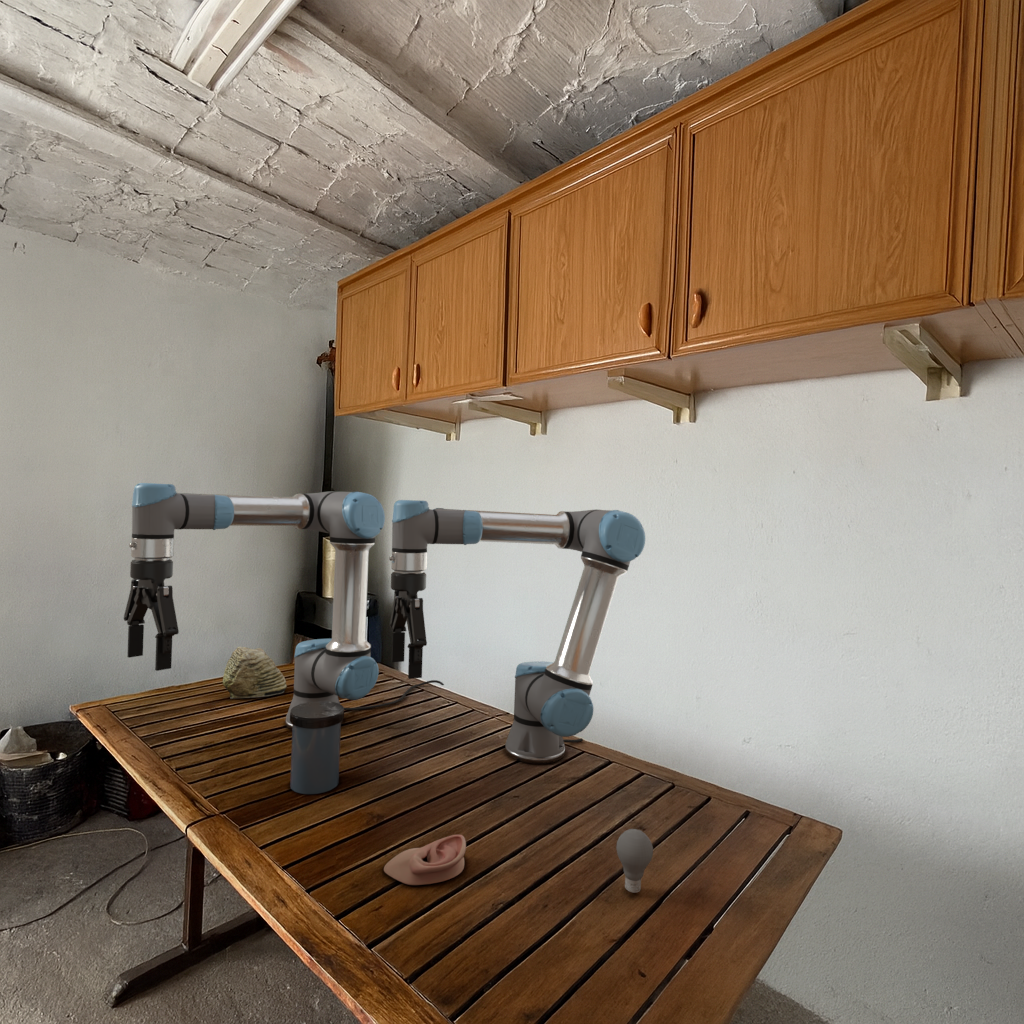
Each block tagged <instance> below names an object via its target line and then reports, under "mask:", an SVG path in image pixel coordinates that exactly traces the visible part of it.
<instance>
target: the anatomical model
mask: <svg viewBox="0 0 1024 1024" xmlns="http://www.w3.org/2000/svg"><path fill="white" fill-rule="evenodd" d="M466 851H467V841H466V838H465V836H464V835H463V834H452V835H448V836H445V837H442V838H439V839H437V840H435V841H432V842H430V843H428V844H426V845H424V846H421V847H412V848H409V849H405V850H403V851H402V852H400V853H398V854H395V856H394V857H392V858H391V859H390V860H389V861H387V863H386V864H385V865H384V867H383V872H384V873H385V874H386V875H387V876H389V877H390V878H392V879H394V880H395V881H398V882H400V883H402V884H405V885H407V886H408V885H409V886H422V885H431V884H437V883H441V882H445V881H448V880H450V879H453V878H455V877H457V876H458V875H460V874H461V873H462V872H463V870H464V868H465V857H464V856H465V854H466Z"/></svg>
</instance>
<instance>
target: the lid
mask: <svg viewBox="0 0 1024 1024" xmlns="http://www.w3.org/2000/svg"><path fill="white" fill-rule="evenodd" d="M344 708H345V707H344V706H343V705H342V704H341V703H340V704H338V703H335V702H328V701H315V702H307V703H303V704H299V705H297V706H295V707H293V708H292V709H291V712H290V722H291V724H293V725H294V726H297V727H301V728H324V727H329V726H333V725H336V724H338V723H340V722H341V721H342V720H343V721H344V718H345V710H344Z"/></svg>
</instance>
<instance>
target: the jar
mask: <svg viewBox="0 0 1024 1024" xmlns="http://www.w3.org/2000/svg"><path fill="white" fill-rule="evenodd" d="M341 733H342V723H341V722H340V723H338V724H336V725H333V726H329V727H324V728H301V727H297V726H294V725H293V724H292V729H291V749H290V750H291V752H290V753H291V754H290V778H289V780H290V782H289V787H290V789H291V791H293V792H294V793H298V794H303V795H317V794H322V793H327V792H329V791H332V790H333V789H335V788H336V787H337V786H338V785H339V781H340V763H341V761H340V759H341V737H342V736H341Z"/></svg>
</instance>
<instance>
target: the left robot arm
mask: <svg viewBox="0 0 1024 1024" xmlns="http://www.w3.org/2000/svg"><path fill="white" fill-rule="evenodd" d="M385 515H386V513H385V511H384V508H383V505H382V503H381V502H380V501H379V500H378V498H377V497H375V495H373V494H370V493H367V492H363V491H362V492H361V491H337V490H336V491H335V490H333V491H332V490H330V491H321V492H311V493H295V494H294V495H293V496H276V495H275V496H274V495H273V496H272V495H248V494H247V495H246V494H244V495H243V494H220V493H219V494H218V493H217V494H216V493H215V494H214V493H189V492H187V493H186V492H177V491H176V486H175V485H174V484H173V483H152V482H139V483H137V484H136V485H135V486H134V488H133V492H132V501H131V520H132V521H131V542H130V543H128V547H129V548H130V549H131V550H130V556H131V558H133V559H132V560H131V561H130V567H129V568H130V571H129V574H130V575H129V576H130V578H131V581H130V590H129V594H128V598H127V603H126V607H125V610H124V615H123V621H124V622H126V624H127V626H128V629H127V630H128V631H127V658H135V657H142V656H144V635H145V634H144V630H145V625H144V624H145V623H146V621H145V619H144V618H145V616H146V615H147V612H148V609H149V610H151V613H152V618H153V620H154V624H155V627H156V631H157V633H156V635H155V636H154V638H155V661H154V663H155V665H154V668H155V669H154V670H155V671H157V672H159V671H164V670H169V669H172V659H173V657H172V655H173V637H175V636H176V635H179V632H180V631H179V625H178V619H177V615H176V614H177V613H176V609H175V603H174V597H173V595H174V593H173V585H165V580H167V579H171V578H172V577H173V575H174V573H173V572H174V561H173V560H172V559H171V558H173V557H174V554H175V553H174V552H175V530H213V531H215V530H224V529H228V528H230V526H233V527H234V526H237V527H238V526H240V527H243V526H246V527H247V526H249V527H250V526H258V527H259V526H268V527H269V526H276V527H277V526H282V527H284V526H285V527H286V526H287V527H288V526H289V527H290V526H291V527H293V528H294V529H296V530H308V531H309V530H310V531H316V532H319V533H325V534H329V544H330V545H331V546H332V547H333V548H334V550H335V551H334V572H333V573H334V577H333V599H332V625H331V626H332V627H331V638H317V639H308V640H304V641H300V642H299V643H297V645H296V646H295V650H294V655H293V657H294V672H293V673H294V674H293V695H292V696H293V697H292V699H291V702H290V704H289V708H288V711H287V713H286V715H285V726H286V728H287V729H289V730H292V724H291V722H290V712H291V709H292V708H293V707H295V706H297V705H299V704H303V703H307V702H315V701H328V702H335V703H338V704H341V702H340V699H339V698H341V699H342V700H343V699H344V700H348V701H349V700H350V701H357V700H360V699H362V698H364V697H365V696H367V695H368V694H370V692H371V690H372V689H374V687H375V685H376V683H377V682H378V678H379V674H380V672H379V671H380V670H379V669H380V668H379V665H378V663H377V662H376V660H375V659H374V657H371V652H372V649H371V648H372V644H371V643H370V642H368V640H367V639H366V631H367V607H368V606H367V605H368V604H367V602H368V582H369V581H368V579H369V555H370V553H369V552H370V550H371V548H372V547H374V545H375V544H376V536H378V535H379V534H380V533H381V530H383V528H384V526H385V522H386V521H385V520H386V516H385ZM433 683H436V684H439V685H441V686H445V684H444V683H443V681H440V680H436V679H433V680H427V681H423V682H420V683H417V684H414V685H412V686H410V687H408V688H407V689H406V691H405V692H404V693H403V694H402V696H401V697H400V698H398V699H396V700H395V699H394V700H393V701H388V702H385V703H379V704H374V705H367V706H358V707H344V711H361V710H362V711H363V710H370V709H375V708H376V709H377V708H382V707H386V706H390V705H393V704H397V703H399V702H401V701H402V700H403V699H405V698H406V696H407V694H409V692H410V691H411V690H413V689H415V688H418V687H421V686H424V685H429V684H433ZM343 722H344V719H343V720H342V721H341V724H342V723H343Z"/></svg>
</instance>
